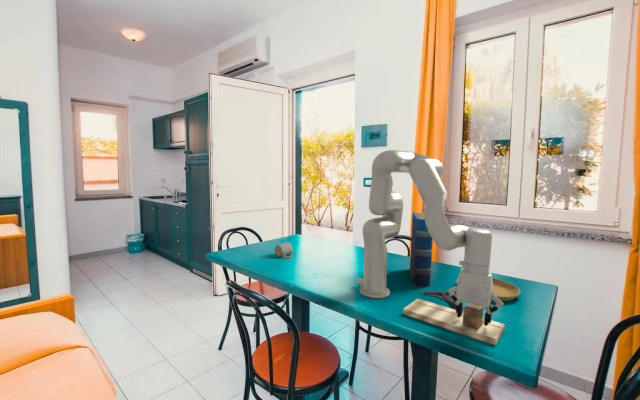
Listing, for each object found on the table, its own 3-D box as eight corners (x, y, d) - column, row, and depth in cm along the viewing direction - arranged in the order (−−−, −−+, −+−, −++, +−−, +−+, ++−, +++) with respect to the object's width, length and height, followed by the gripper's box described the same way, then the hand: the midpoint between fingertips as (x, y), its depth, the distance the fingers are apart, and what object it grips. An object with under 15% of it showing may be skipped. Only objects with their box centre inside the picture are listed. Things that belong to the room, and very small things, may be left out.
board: (403, 314, 116) (403, 308, 116) (417, 303, 125) (417, 298, 125) (495, 345, 96) (496, 338, 96) (504, 330, 105) (504, 324, 105)
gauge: (462, 324, 104) (463, 308, 104) (471, 314, 111) (472, 299, 111) (477, 328, 101) (478, 312, 101) (485, 318, 108) (486, 302, 108)
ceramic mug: (273, 256, 186) (273, 243, 186) (284, 253, 192) (284, 240, 191) (285, 260, 179) (285, 247, 178) (296, 257, 185) (296, 244, 184)
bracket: (437, 311, 120) (438, 303, 120) (423, 294, 135) (424, 288, 135) (475, 311, 121) (476, 304, 121) (457, 295, 136) (457, 288, 135)
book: (434, 288, 141) (438, 220, 138) (413, 286, 143) (417, 219, 140) (427, 270, 165) (430, 212, 162) (409, 269, 166) (412, 211, 163)
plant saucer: (510, 285, 146) (511, 278, 146) (527, 308, 123) (528, 299, 123) (453, 279, 153) (453, 272, 153) (459, 299, 130) (460, 291, 130)
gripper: (444, 264, 106) (441, 315, 108) (504, 277, 95) (500, 333, 97) (452, 259, 112) (449, 308, 113) (509, 270, 100) (505, 324, 102)
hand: (472, 319), depth 105 cm, fingers open, 7 cm apart
